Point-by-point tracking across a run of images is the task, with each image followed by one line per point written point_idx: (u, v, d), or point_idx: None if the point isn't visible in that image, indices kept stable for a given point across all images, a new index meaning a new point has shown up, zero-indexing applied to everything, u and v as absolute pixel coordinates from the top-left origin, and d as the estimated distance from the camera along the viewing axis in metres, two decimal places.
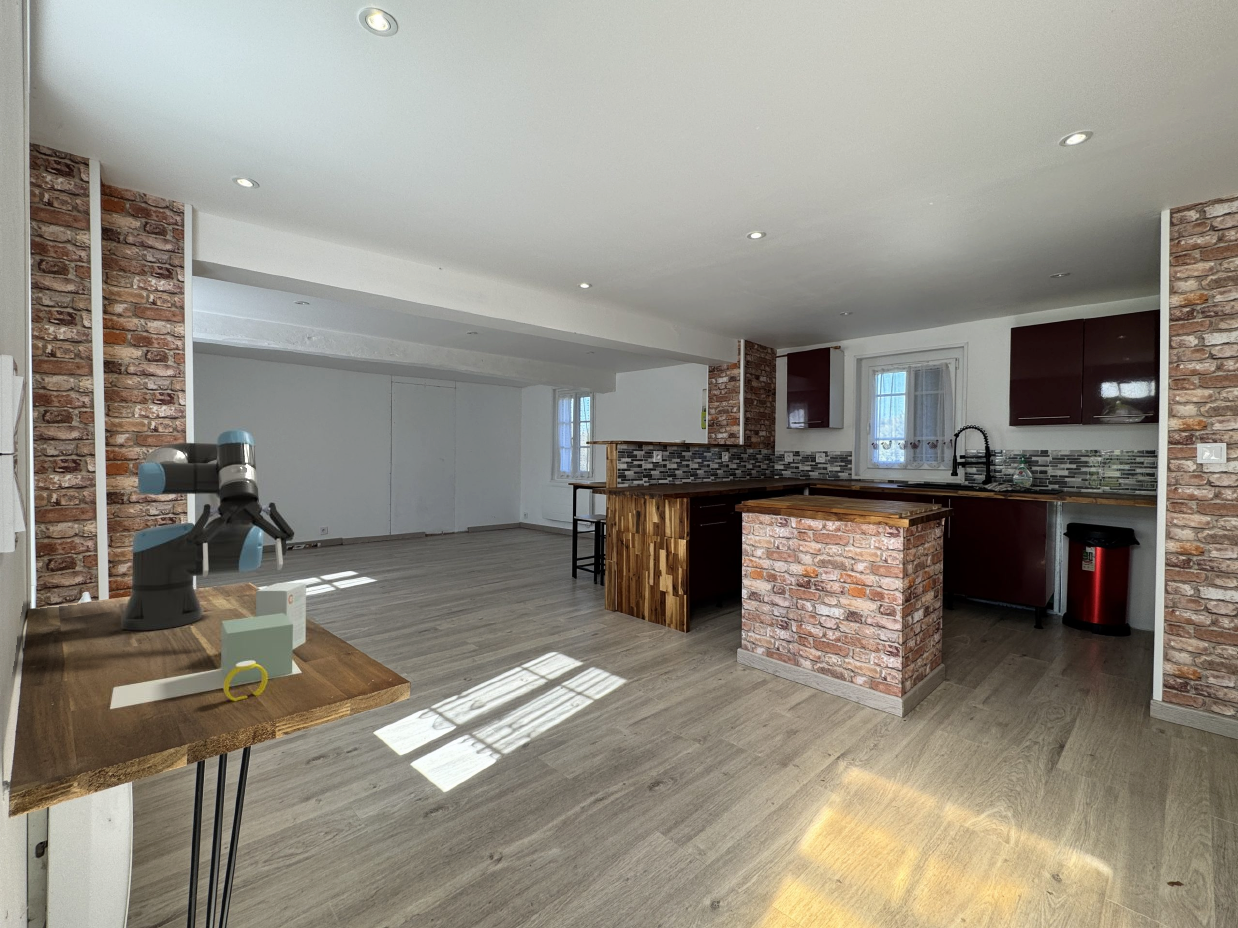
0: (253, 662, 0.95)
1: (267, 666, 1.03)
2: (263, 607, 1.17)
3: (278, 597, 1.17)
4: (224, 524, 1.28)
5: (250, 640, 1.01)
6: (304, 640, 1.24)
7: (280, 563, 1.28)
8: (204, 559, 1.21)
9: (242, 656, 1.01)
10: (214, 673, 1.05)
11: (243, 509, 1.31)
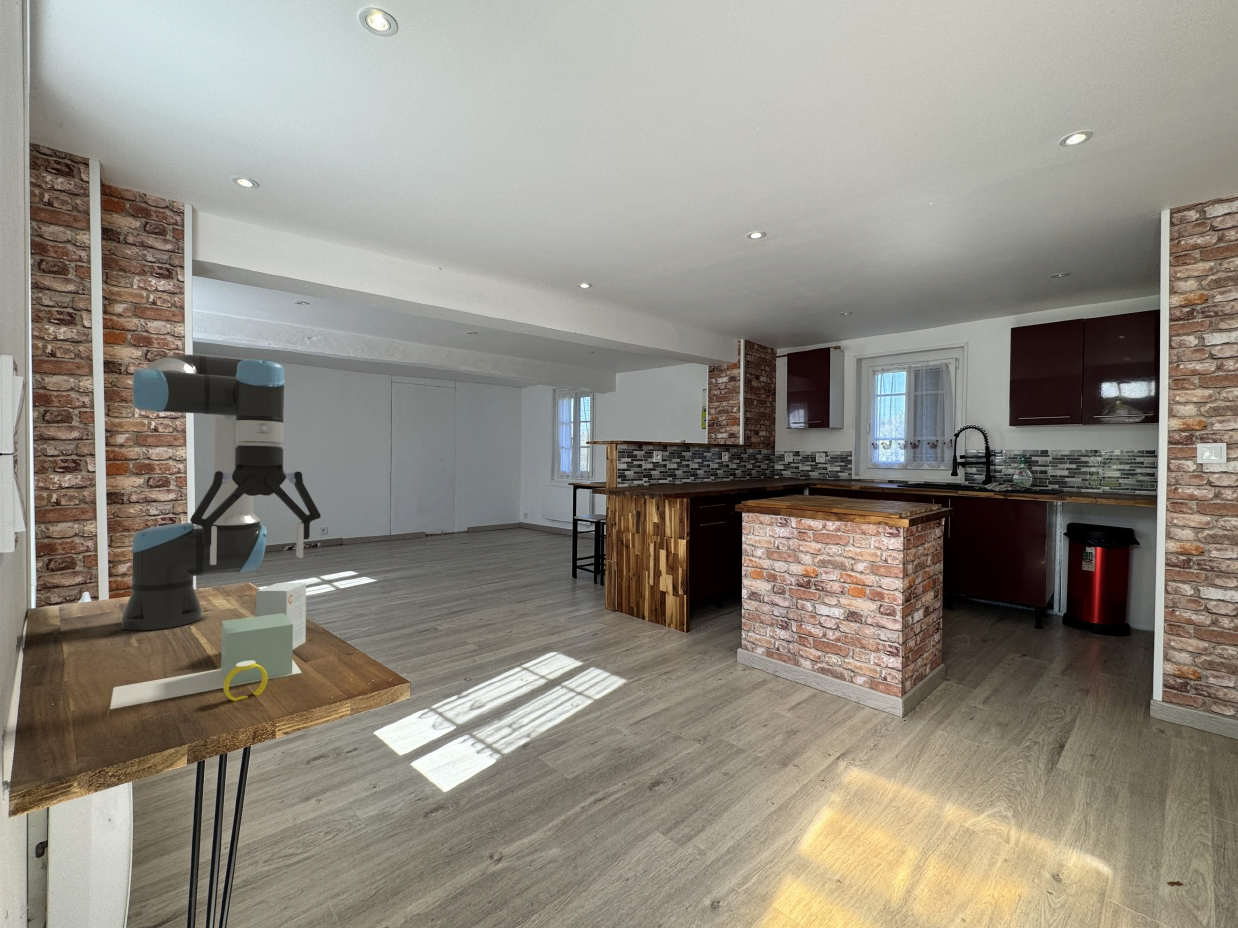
0: (253, 662, 0.95)
1: (267, 666, 1.03)
2: (263, 607, 1.17)
3: (278, 597, 1.17)
4: None
5: (250, 640, 1.01)
6: (304, 640, 1.24)
7: (300, 556, 1.10)
8: (212, 549, 1.01)
9: (242, 656, 1.01)
10: (214, 673, 1.05)
11: (263, 480, 1.06)
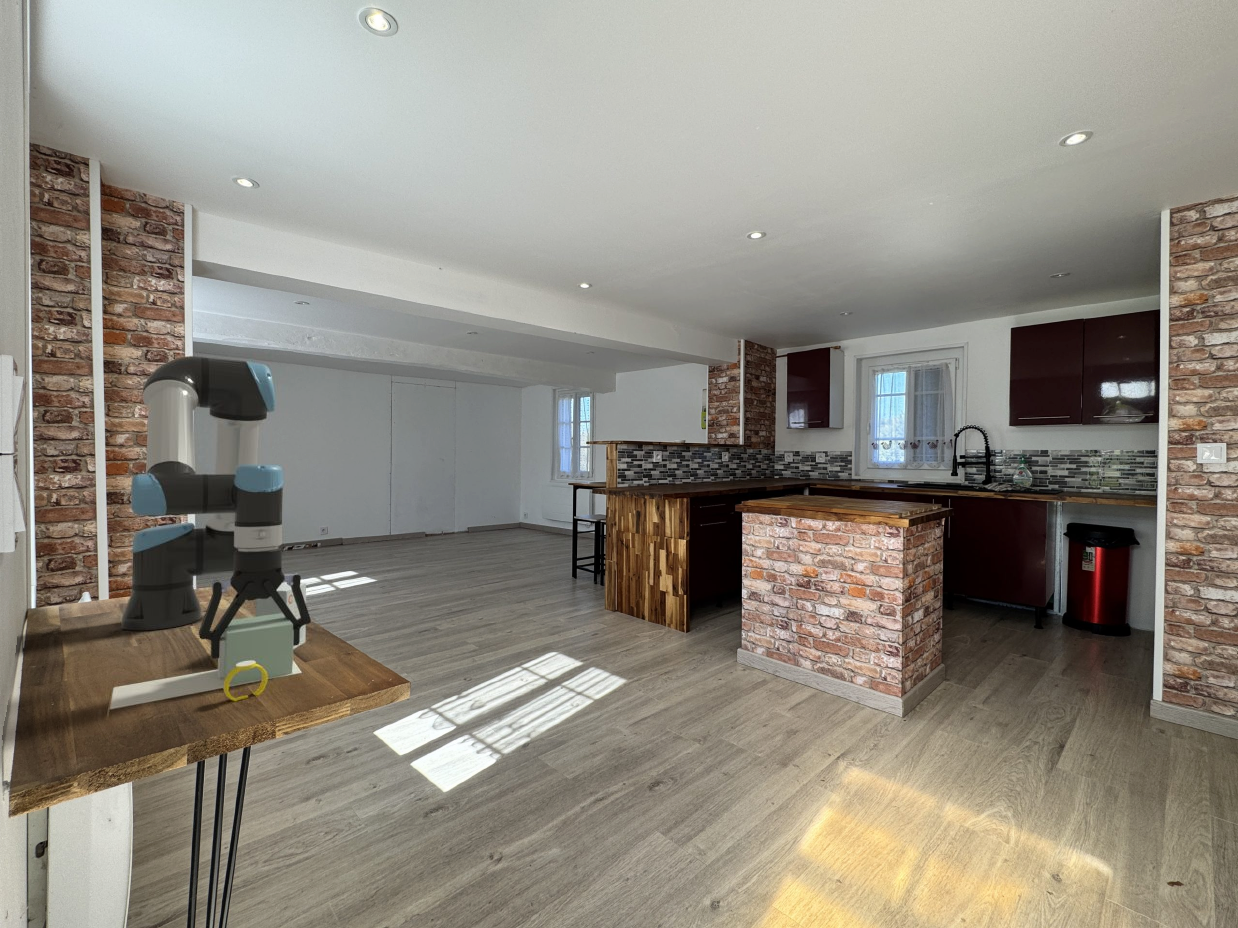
0: (253, 662, 0.95)
1: (267, 666, 1.03)
2: (263, 607, 1.17)
3: None
4: None
5: (250, 640, 1.01)
6: (304, 640, 1.24)
7: None
8: (220, 662, 1.02)
9: (242, 656, 1.01)
10: (214, 673, 1.05)
11: (261, 583, 1.06)
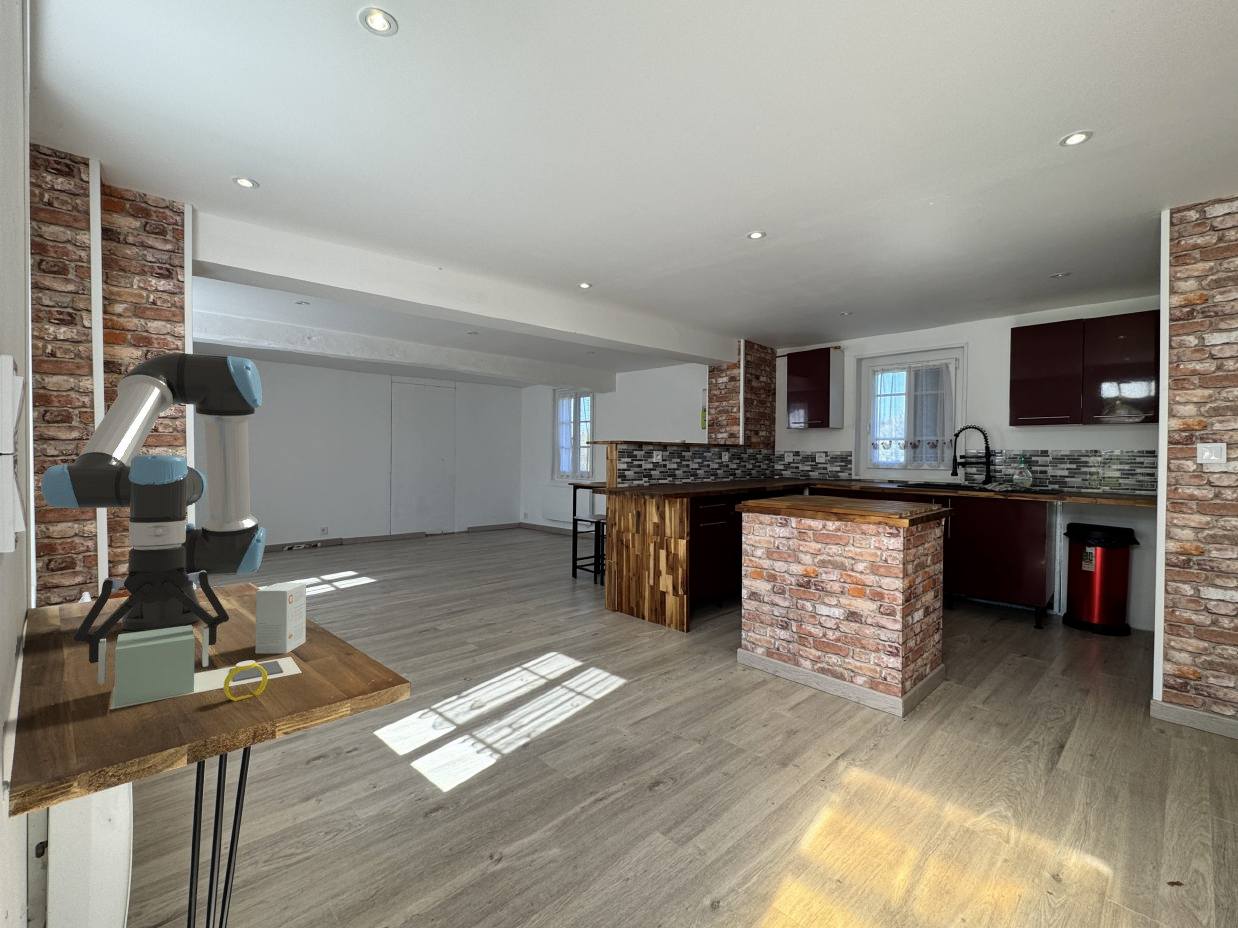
0: (253, 662, 0.95)
1: (164, 685, 0.94)
2: (263, 607, 1.17)
3: (278, 597, 1.17)
4: None
5: (143, 656, 0.92)
6: (304, 640, 1.24)
7: (204, 665, 1.00)
8: (99, 667, 0.92)
9: (134, 674, 0.92)
10: (214, 673, 1.05)
11: (160, 585, 0.97)
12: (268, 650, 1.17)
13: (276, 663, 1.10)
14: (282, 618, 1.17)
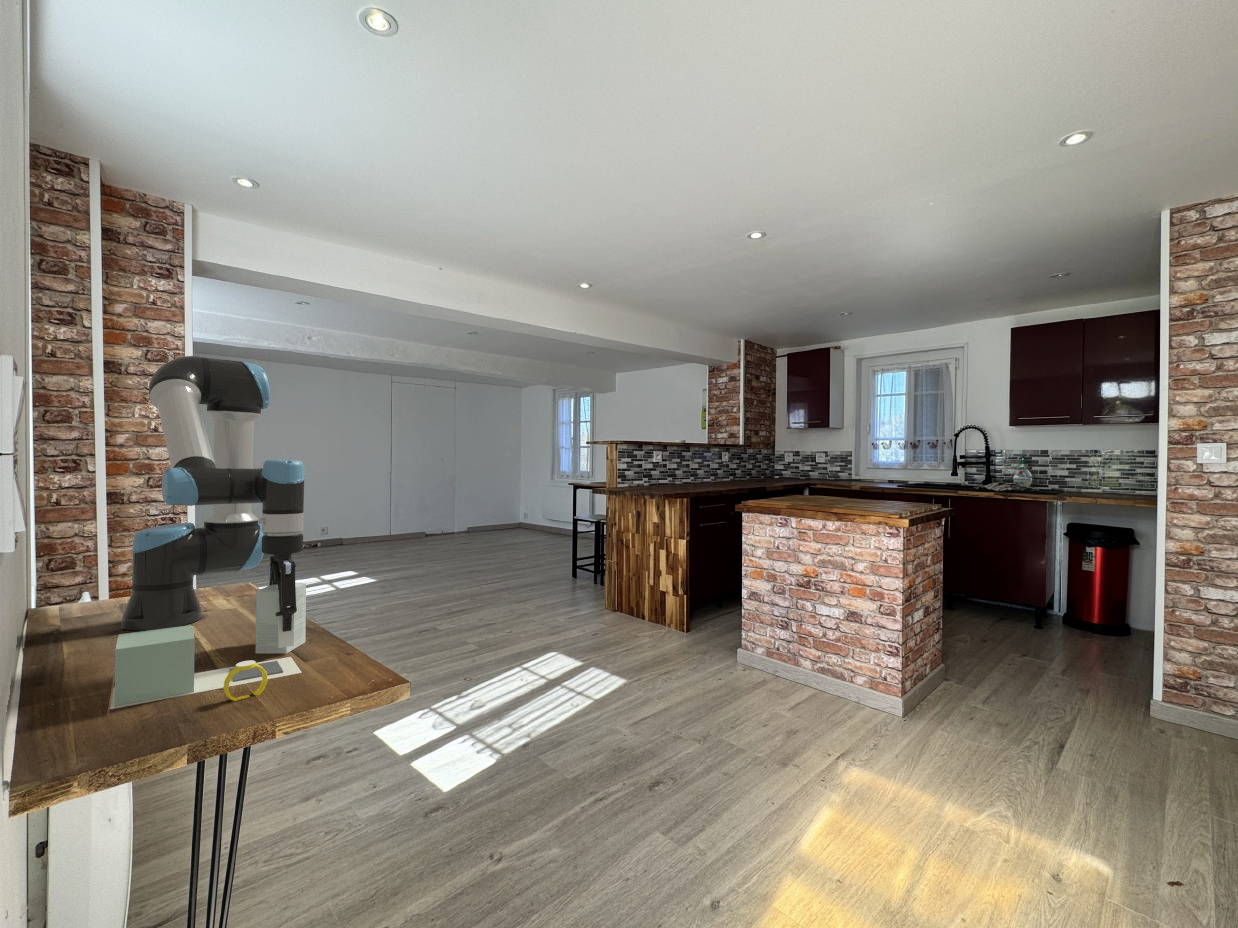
0: (253, 662, 0.95)
1: (164, 685, 0.94)
2: (263, 607, 1.17)
3: (278, 597, 1.17)
4: None
5: (143, 656, 0.92)
6: (304, 640, 1.24)
7: (278, 646, 1.16)
8: None
9: (134, 674, 0.92)
10: (214, 673, 1.05)
11: None
12: (268, 650, 1.17)
13: (276, 663, 1.10)
14: None
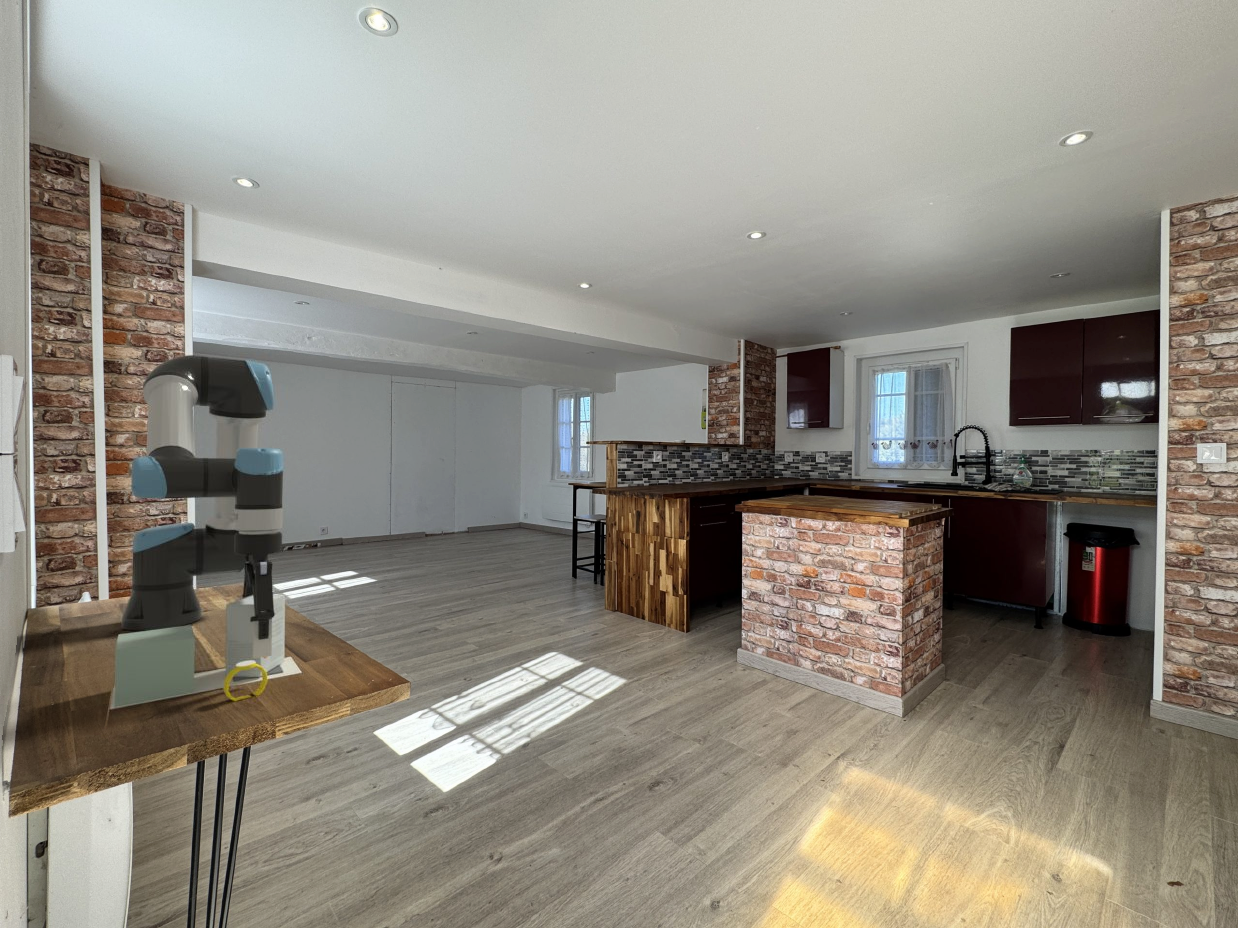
0: (253, 662, 0.95)
1: (164, 685, 0.94)
2: (234, 622, 1.03)
3: (251, 612, 1.03)
4: None
5: (143, 656, 0.92)
6: (283, 659, 1.10)
7: (253, 656, 1.00)
8: None
9: (134, 674, 0.92)
10: (214, 673, 1.05)
11: None
12: (240, 672, 1.03)
13: None
14: None
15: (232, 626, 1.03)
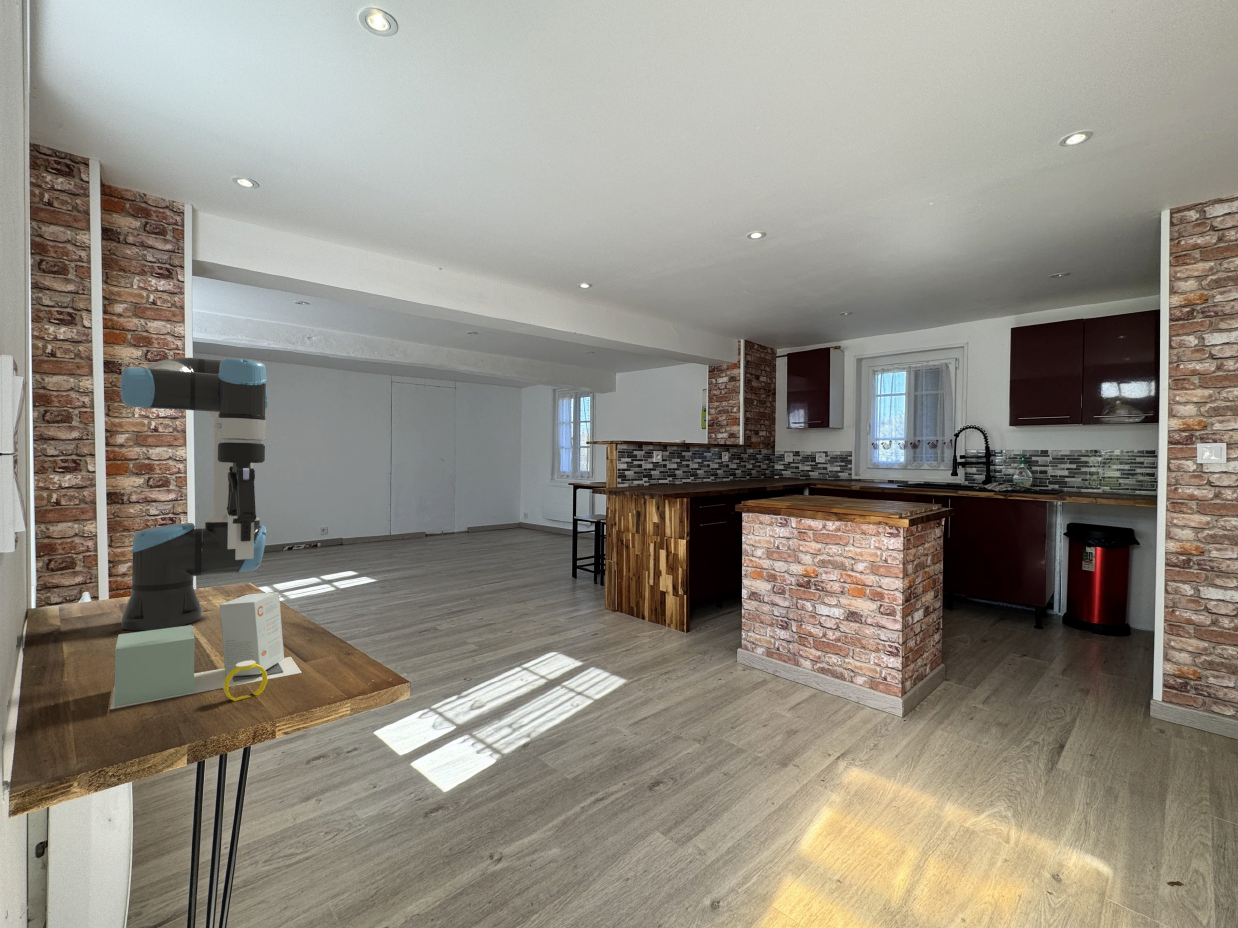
0: (253, 662, 0.95)
1: (164, 685, 0.94)
2: (229, 622, 1.02)
3: (245, 610, 1.02)
4: None
5: (143, 656, 0.92)
6: (282, 656, 1.10)
7: (235, 558, 1.04)
8: None
9: (134, 674, 0.92)
10: (214, 673, 1.05)
11: None
12: (240, 671, 1.03)
13: (276, 663, 1.10)
14: (252, 633, 1.03)
15: (227, 626, 1.03)
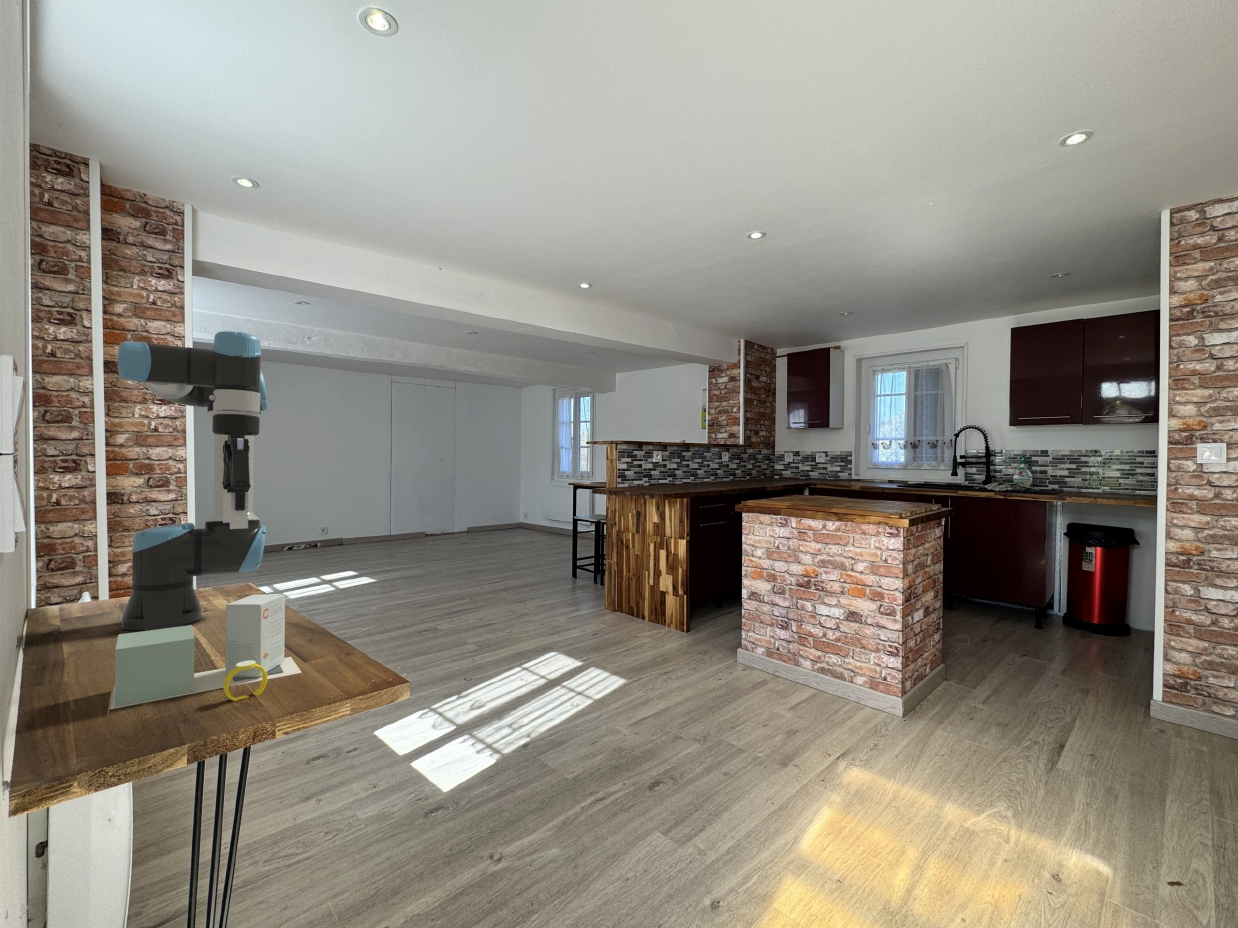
0: (253, 662, 0.95)
1: (164, 685, 0.94)
2: (234, 623, 1.03)
3: (251, 612, 1.03)
4: None
5: (143, 656, 0.92)
6: (283, 659, 1.10)
7: (230, 527, 1.04)
8: None
9: (134, 674, 0.92)
10: (214, 673, 1.05)
11: None
12: (240, 672, 1.03)
13: None
14: (256, 635, 1.03)
15: (232, 626, 1.03)
